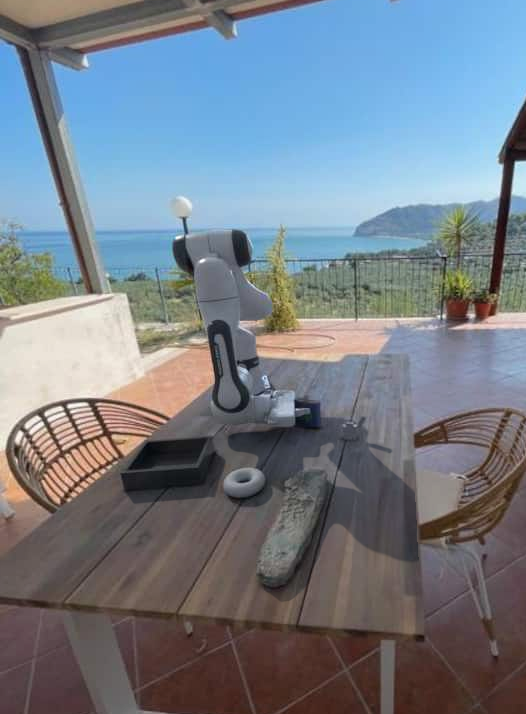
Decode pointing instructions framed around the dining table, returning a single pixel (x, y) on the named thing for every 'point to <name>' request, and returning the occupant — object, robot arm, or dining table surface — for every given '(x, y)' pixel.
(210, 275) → the robot arm
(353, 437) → the lighter
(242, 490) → the donut
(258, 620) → the dining table surface
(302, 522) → the elongated rock
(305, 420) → the flask
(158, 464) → the tray
